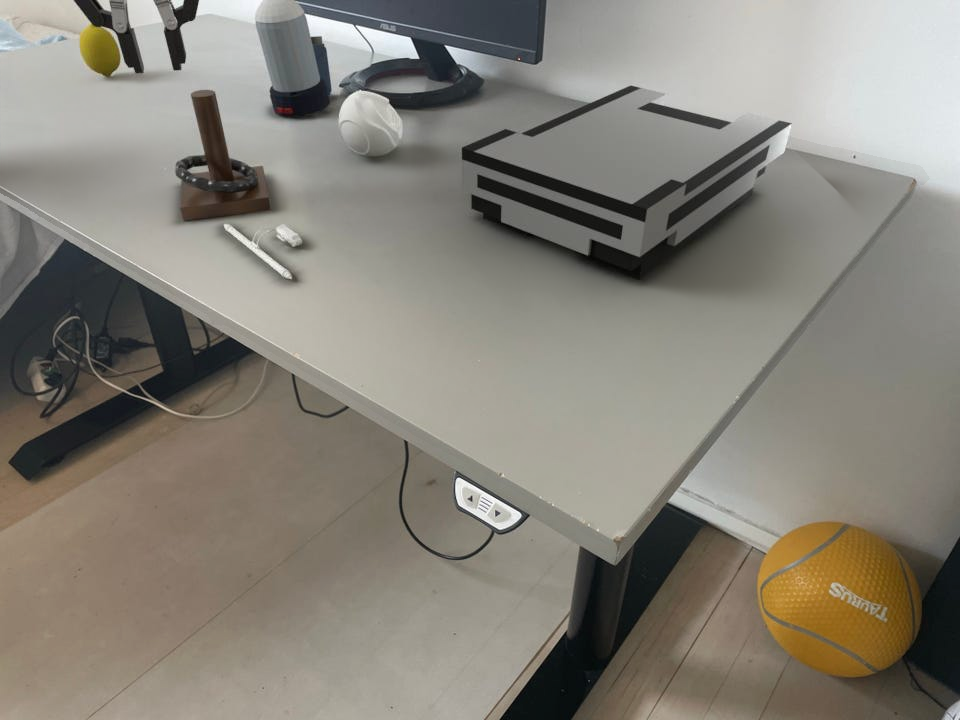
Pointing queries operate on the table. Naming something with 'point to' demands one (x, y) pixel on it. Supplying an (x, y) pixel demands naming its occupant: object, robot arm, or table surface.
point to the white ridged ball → (369, 124)
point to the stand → (218, 170)
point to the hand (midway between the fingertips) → (158, 69)
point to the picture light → (284, 235)
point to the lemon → (99, 50)
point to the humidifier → (290, 59)
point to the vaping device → (322, 60)
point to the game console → (621, 176)
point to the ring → (215, 185)
